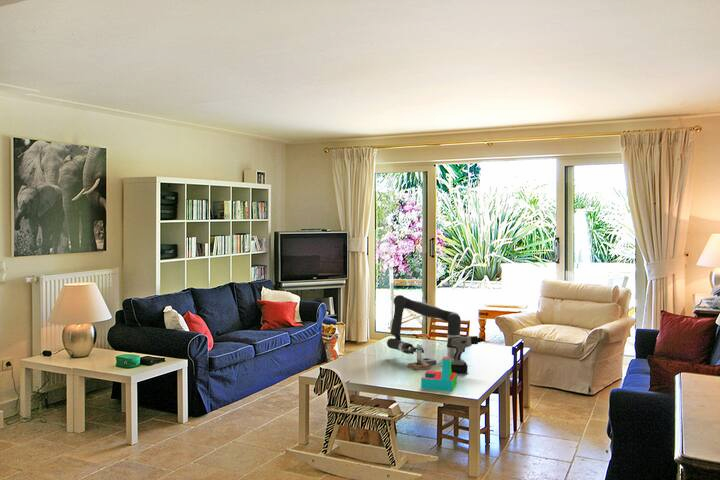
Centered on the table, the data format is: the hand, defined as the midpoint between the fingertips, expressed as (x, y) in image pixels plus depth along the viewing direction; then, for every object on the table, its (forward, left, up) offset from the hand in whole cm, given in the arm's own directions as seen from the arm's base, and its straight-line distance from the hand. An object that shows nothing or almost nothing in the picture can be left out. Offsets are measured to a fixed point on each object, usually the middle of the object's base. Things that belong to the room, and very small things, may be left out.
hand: (418, 352), depth 423 cm
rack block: (0, +1, -10) cm, 11 cm away
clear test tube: (0, +1, -10) cm, 11 cm away
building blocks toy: (+12, +43, -11) cm, 46 cm away
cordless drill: (-20, +26, -11) cm, 35 cm away
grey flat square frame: (-12, -8, -10) cm, 18 cm away
